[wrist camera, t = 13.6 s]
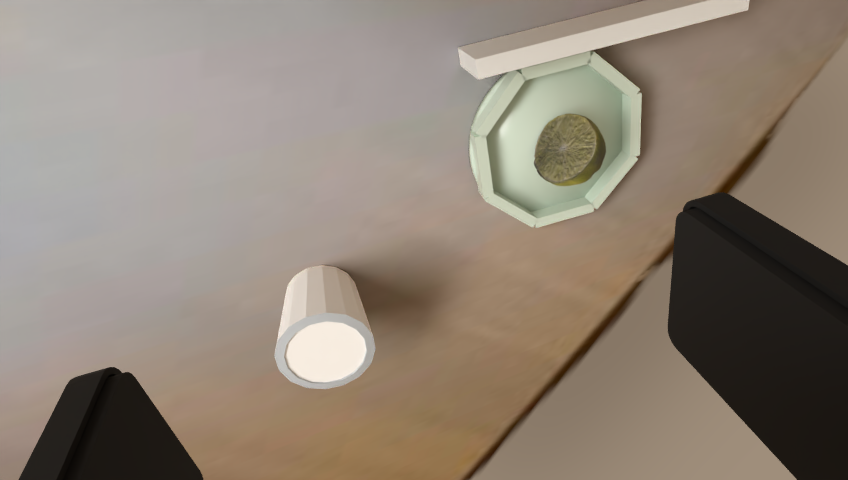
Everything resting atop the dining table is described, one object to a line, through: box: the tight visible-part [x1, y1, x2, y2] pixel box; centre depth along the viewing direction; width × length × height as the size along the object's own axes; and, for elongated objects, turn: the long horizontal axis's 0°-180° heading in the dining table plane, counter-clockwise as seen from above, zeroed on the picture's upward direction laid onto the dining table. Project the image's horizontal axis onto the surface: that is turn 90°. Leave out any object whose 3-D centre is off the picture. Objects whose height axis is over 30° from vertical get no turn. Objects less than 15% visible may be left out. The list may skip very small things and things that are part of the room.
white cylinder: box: [275, 265, 376, 389], centre depth 39 cm, size 7×7×7 cm
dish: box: [469, 51, 642, 228], centre depth 39 cm, size 13×13×2 cm
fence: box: [458, 0, 749, 79], centre depth 34 cm, size 1×18×4 cm, turn 101°
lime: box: [534, 114, 606, 186], centre depth 37 cm, size 4×5×5 cm
